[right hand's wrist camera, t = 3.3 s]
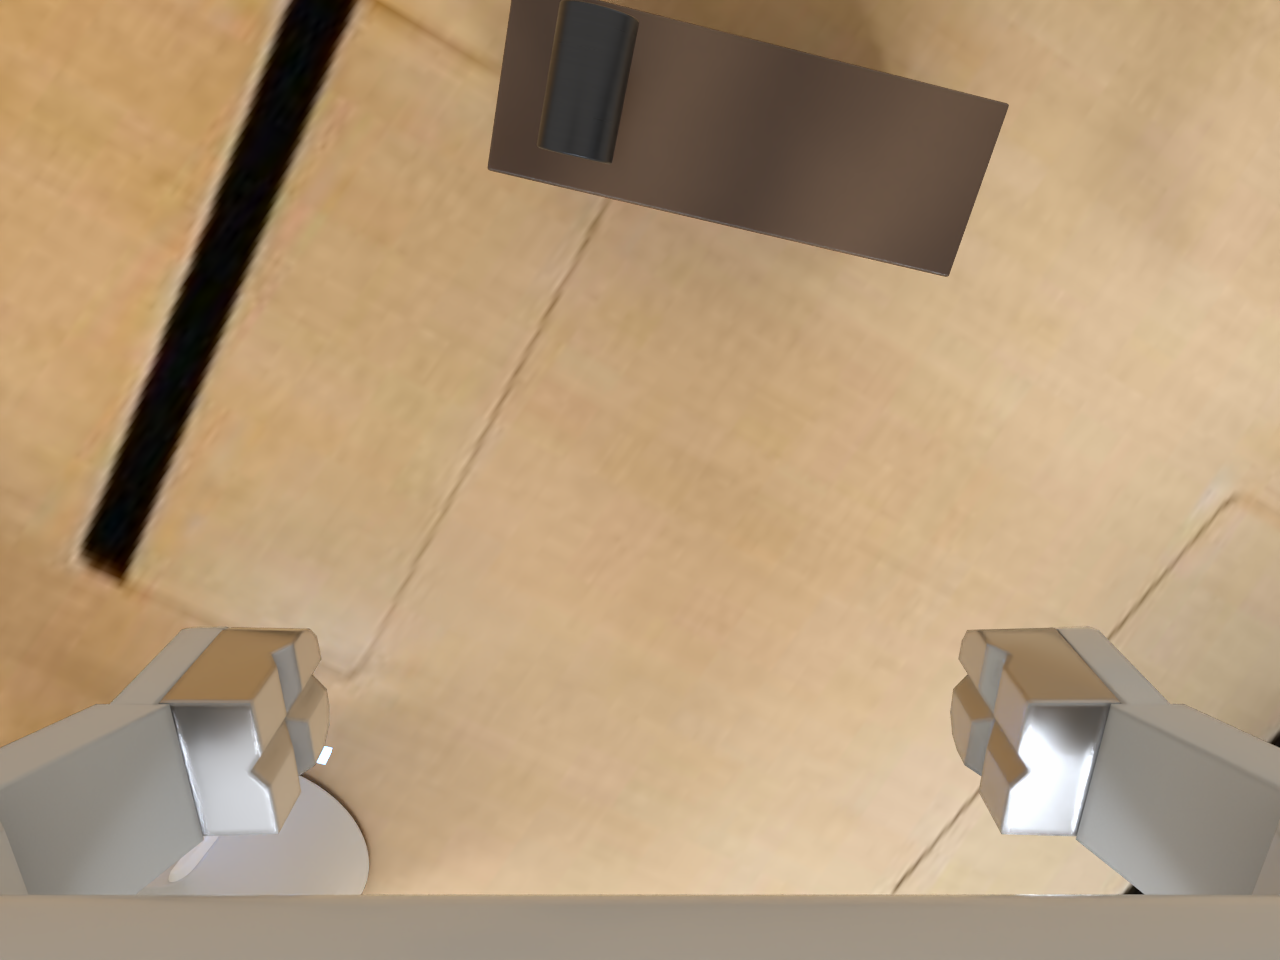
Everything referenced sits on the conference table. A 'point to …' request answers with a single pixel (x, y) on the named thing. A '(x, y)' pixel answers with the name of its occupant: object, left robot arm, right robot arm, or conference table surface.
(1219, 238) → the conference table surface
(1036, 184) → the conference table surface
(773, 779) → the conference table surface
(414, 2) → the conference table surface
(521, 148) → the lid
